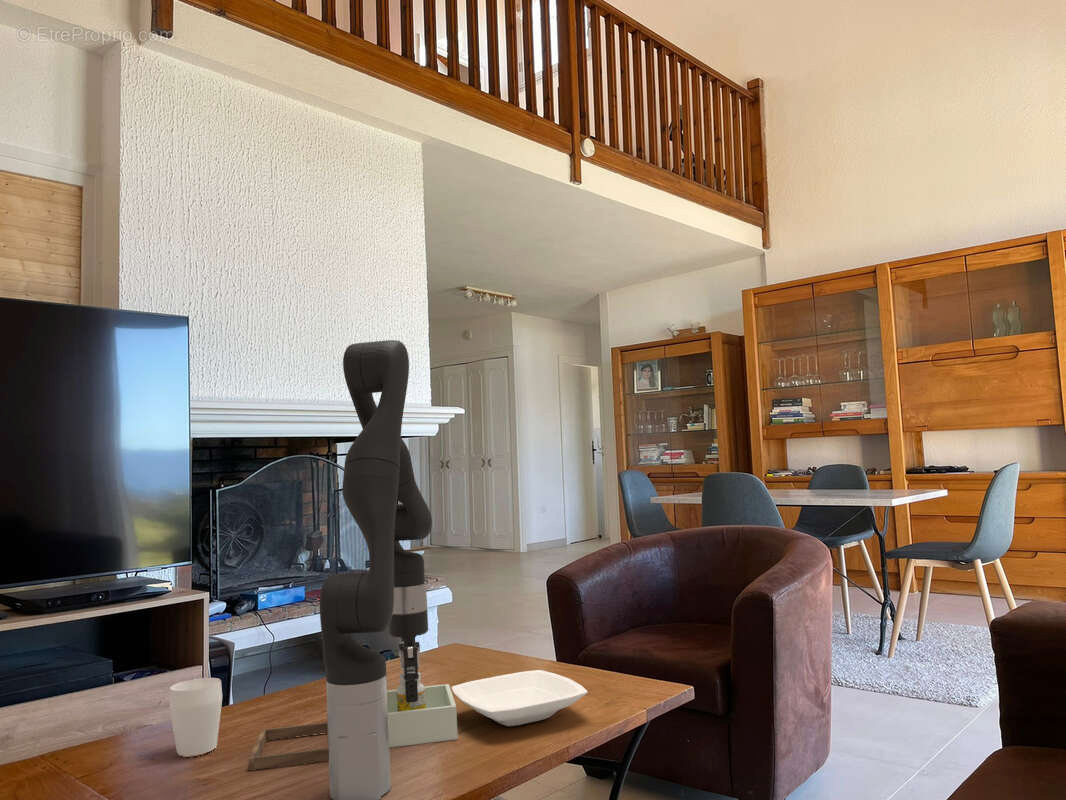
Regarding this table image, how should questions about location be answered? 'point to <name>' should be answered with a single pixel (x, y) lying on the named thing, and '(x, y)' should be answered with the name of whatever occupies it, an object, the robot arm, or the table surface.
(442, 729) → the plastic bin
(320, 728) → the walnut frame
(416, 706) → the supplement bottle
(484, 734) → the table surface
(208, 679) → the cup
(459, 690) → the bowl
